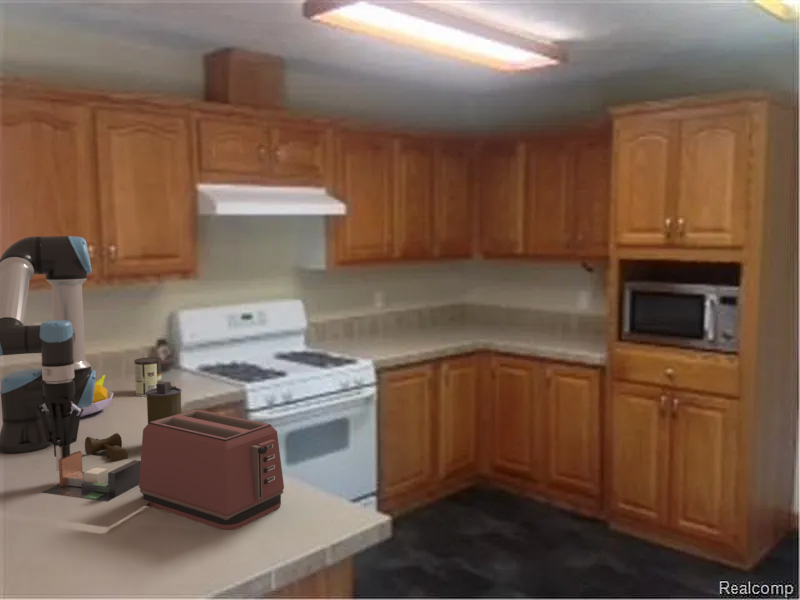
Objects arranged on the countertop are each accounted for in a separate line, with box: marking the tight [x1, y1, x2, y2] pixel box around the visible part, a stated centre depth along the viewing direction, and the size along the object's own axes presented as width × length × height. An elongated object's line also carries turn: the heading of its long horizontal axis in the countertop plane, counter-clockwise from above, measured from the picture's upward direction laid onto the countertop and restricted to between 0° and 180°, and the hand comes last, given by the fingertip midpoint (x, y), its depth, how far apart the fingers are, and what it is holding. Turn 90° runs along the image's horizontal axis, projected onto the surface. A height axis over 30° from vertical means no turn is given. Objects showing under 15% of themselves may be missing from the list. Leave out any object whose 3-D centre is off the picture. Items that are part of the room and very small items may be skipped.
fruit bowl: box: [80, 374, 114, 418], centre depth 258 cm, size 28×27×11 cm
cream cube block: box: [83, 467, 109, 484], centre depth 182 cm, size 4×4×4 cm
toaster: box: [138, 408, 285, 531], centre depth 172 cm, size 19×34×20 cm, turn 57°
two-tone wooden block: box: [58, 450, 85, 487], centre depth 184 cm, size 6×7×7 cm
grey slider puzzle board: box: [41, 459, 141, 503], centre depth 182 cm, size 20×16×7 cm
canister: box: [146, 381, 183, 425], centre depth 219 cm, size 11×10×20 cm
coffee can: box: [134, 356, 163, 397], centre depth 287 cm, size 10×10×14 cm
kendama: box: [84, 432, 129, 463], centre depth 209 cm, size 6×10×20 cm
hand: (62, 469), depth 185 cm, fingers closed
